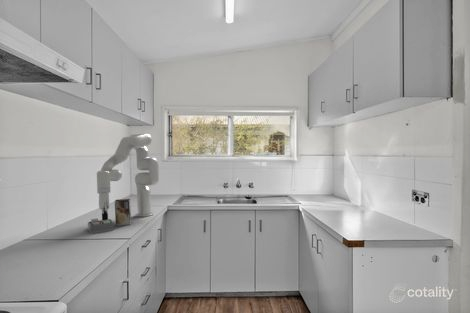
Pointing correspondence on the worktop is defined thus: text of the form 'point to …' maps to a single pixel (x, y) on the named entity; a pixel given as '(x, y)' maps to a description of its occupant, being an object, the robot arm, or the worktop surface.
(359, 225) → the worktop surface
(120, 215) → the coffee box
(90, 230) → the keyguard
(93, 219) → the key slate
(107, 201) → the robot arm
